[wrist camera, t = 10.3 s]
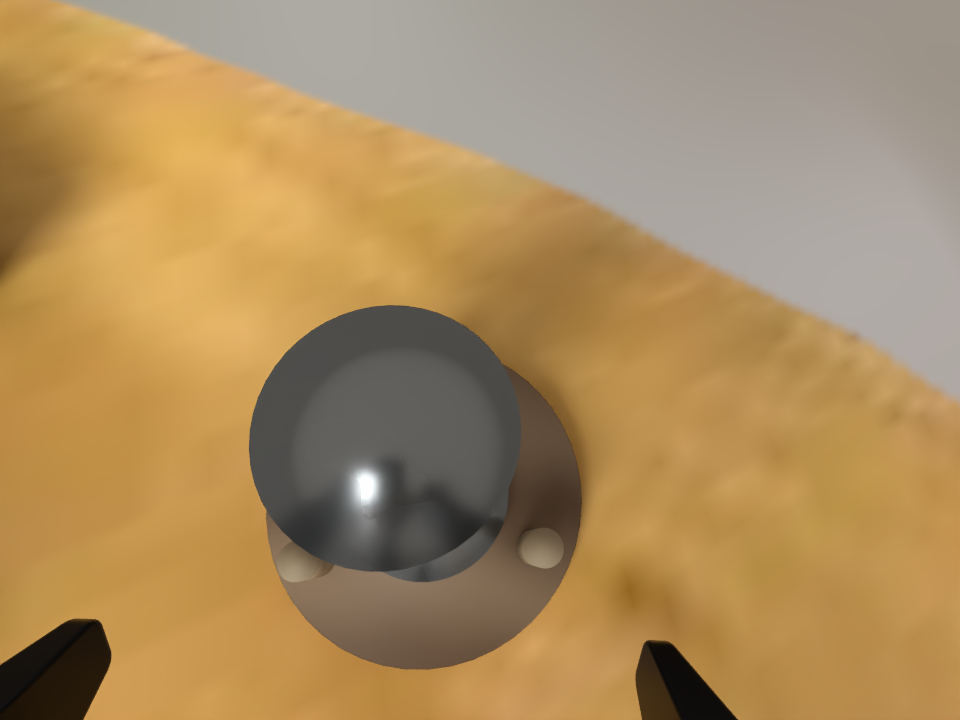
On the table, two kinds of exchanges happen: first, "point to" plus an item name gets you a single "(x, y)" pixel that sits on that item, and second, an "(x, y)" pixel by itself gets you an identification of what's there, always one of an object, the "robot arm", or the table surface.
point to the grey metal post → (388, 443)
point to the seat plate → (468, 595)
